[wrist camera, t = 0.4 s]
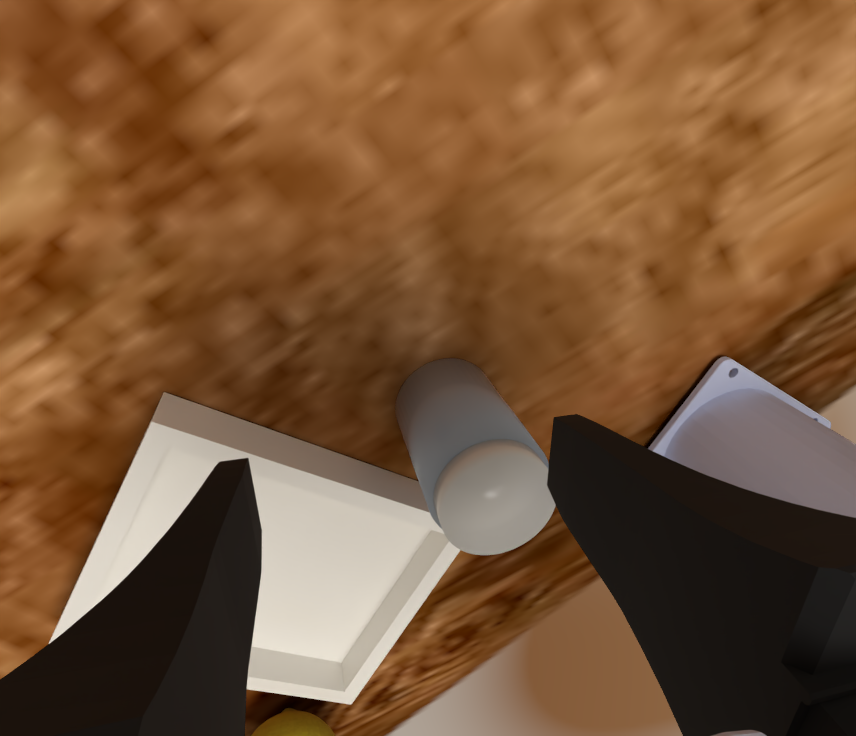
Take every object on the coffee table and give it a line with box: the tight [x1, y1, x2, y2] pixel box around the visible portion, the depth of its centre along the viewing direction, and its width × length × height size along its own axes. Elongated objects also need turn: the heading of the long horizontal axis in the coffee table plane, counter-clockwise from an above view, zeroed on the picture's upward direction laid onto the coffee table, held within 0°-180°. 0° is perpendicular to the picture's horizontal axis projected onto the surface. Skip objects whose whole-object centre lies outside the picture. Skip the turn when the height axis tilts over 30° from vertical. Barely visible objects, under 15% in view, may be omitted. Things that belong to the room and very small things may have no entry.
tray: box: [49, 392, 460, 704], centre depth 24 cm, size 14×12×2 cm
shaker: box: [395, 358, 556, 555], centre depth 21 cm, size 4×4×7 cm
